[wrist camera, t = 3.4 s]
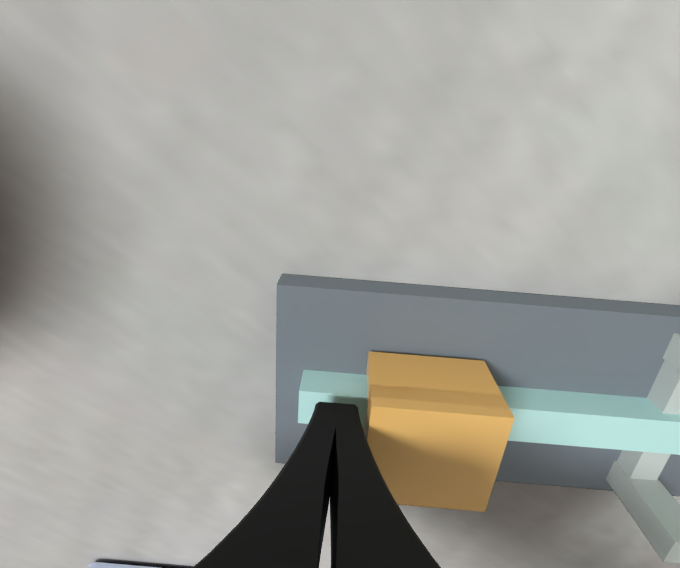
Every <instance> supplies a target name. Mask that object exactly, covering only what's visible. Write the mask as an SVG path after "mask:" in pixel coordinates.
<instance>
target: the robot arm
mask: <svg viewBox="0 0 680 568" xmlns="http://www.w3.org/2000/svg"><path fill="white" fill-rule="evenodd" d="M329 498H330V520H331V568H441V567H440V566H439V565H438V564H437V562H436V561H435V560H434V558H433V557H432V556H431V554H430V553H429V551H428V550H427V549H426V547H425V546H424V544H423V543H422V542H421V540H420V539H419V537H418V536H417V535H416V533H415V532H414V530H413V529H412V527H411V526H410V524H409V523H408V521H407V519H406V518H405V516H404V515H403V513H402V511H401V510H400V508H399V506H398V505H397V503H396V501H395V500H394V498H393V496H392V494H391V492H390V490H389V489H388V487H387V485H386V483H385V481H384V479H383V477H382V475H381V473H380V471H379V468H378V466H377V464H376V462H375V459H374V457H373V455H372V452H371V450H370V447H369V445H368V442H367V439H366V437H365V434H364V431H363V428H362V424H361V421H360V417H359V412H358V407H357V406H356V405H355V404H344V403H331V402H318V403H317V404H316V405H315V409H314V412H313V414H312V417H311V419H310V421H309V424H308V426H307V428H306V430H305V432H304V434H303V435H302V437H301V439H300V441H299V443H298V444H297V446H296V448H295V450H294V451H293V453H292V455H291V456H290V458H289V459H288V461H287V462H286V464H285V465H284V467H283V468H282V470H281V472H280V473H279V474H278V476H277V477H276V479H275V480H274V481H273V483H272V484H271V485H270V487H269V488H268V489H267V491H266V492H265V493H264V495H263V496H262V497H261V498H260V500H259V501H258V502H257V503H256V504H255V505H254V507H253V508H252V509H251V510H250V511H249V512H248V514H247V515H246V516H245V517H244V518H243V519H242V520H241V522H240V523H239V524H238V525H237V526H236V527H235V528H234V529H233V530H232V531H231V532H230V533H229V534H228V535H227V536H226V537H225V538H224V539H223V540H222V541H221V542H220V543H219V544H218V545H217V546H216V547H215V548H214V549H213V550H212V551H211V552H210V553H209V554H208V555H207V556H206V557H204V558H203V559H202V560H201V561H200V562H199V563H198V564H196V565H195V566H194V567H193V568H319V561H320V554H321V548H322V541H323V535H324V529H325V523H326V517H327V511H328V504H329ZM88 568H160V567H148V566H137V565H125V564H113V563H102V562H93V563H91V564H90V565H89V566H88Z"/></svg>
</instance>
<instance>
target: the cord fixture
mask: <svg viewBox="0 0 680 568" xmlns="http://www.w3.org/2000/svg"><path fill="white" fill-rule="evenodd" d="M369 351H371V352H383V353H395V354H407V355H420V356H432V357H444V358H456V359H469V360H481V361H485V363H486V365H487V367H488V369H489V371H490V372H491V374H492V376H493V378H494V380H495V382H496V384H497V386H498V388H499V389H500V391H501V393H502V395H503V397H504V399H505V401H506V403H507V405H508V406H509V408H510V410H511V412H512V414H513V416H514V418H515V419H514V422H513V425H512V428H511V431H510V435H509V438H508V441H507V444H506V447H505V451H504V454H503V457H502V460H501V463H500V466H499V470H498V473H497V476H496V479H495V481H504V482H516V483H528V484H540V485H552V486H564V487H575V488H587V489H599V490H611V491H614V492H615V493H616V495H617V496H618V498H619V499H620V500H621V502H622V503H623V505H624V506H625V508H626V509H627V511H628V512H629V513H630V515H631V516H632V518H633V519H634V521H635V522H636V524H637V525H638V526H639V528H640V529H641V531H642V532H643V534H644V535H645V537H646V538H647V539H648V541H649V542H650V544H651V545H652V547H653V548H654V550H655V551H656V552H657V554H658V555H659V557H660V558H661V560H662V561H663V562H669V563H680V505H679V504H678V502H677V501H676V500H675V499H674V498H673V496H680V306H679V305H666V304H654V303H641V302H629V301H617V300H604V299H592V298H579V297H567V296H554V295H542V294H529V293H517V292H504V291H492V290H479V289H467V288H454V287H442V286H429V285H417V284H404V283H392V282H379V281H367V280H354V279H342V278H330V277H317V276H305V275H292V274H282V275H281V277H280V279H279V281H278V283H277V332H276V462H277V463H286V462H287V461H288V459H289V458H290V456H291V455H292V453H293V451H294V450H295V448H296V446H297V444H298V443H299V441H300V439H301V437H302V435H303V434H304V432H305V430H306V428H307V426H308V424H309V421H310V419H311V417H312V414H313V412H314V409H315V405H316V404H317V403H318V402H331V403H344V404H355V405H356V406H357V407H358V412H359V417H360V421H361V424H362V428H363V429H365V423H366V415H367V407H368V398H367V373H366V370H367V361H368V353H369Z"/></svg>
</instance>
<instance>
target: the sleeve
mask: <svg viewBox="0 0 680 568" xmlns="http://www.w3.org/2000/svg"><path fill="white" fill-rule="evenodd" d="M366 373H367V398H368V407H367V415H366V423H365V429H363V431H364V434H365V437H366V439H367V442H368V445H369V447H370V450H371V452H372V455H373V457H374V459H375V462H376V464H377V466H378V468H379V471H380V473H381V475H382V477H383V479H384V481H385V483H386V485H387V487H388V489H389V490H390V492H391V494H392V496H393V498H394V500H395V501H396V503H397V505H409V506H421V507H433V508H445V509H456V510H468V511H480V512H485V511H486V508H487V504H488V501H489V498H490V495H491V492H492V489H493V485H494V482H495V479H496V476H497V473H498V470H499V466H500V463H501V460H502V457H503V454H504V451H505V447H506V444H507V441H508V438H509V435H510V431H511V428H512V425H513V422H514V419H515V418H514V416H513V414H512V412H511V410H510V408H509V406H508V405H507V403H506V401H505V399H504V397H503V395H502V393H501V391H500V389H499V388H498V386H497V384H496V382H495V380H494V378H493V376H492V374H491V372H490V371H489V369H488V367H487V365H486V363H485V361H481V360H469V359H456V358H444V357H432V356H420V355H407V354H395V353H383V352H371V351H369V353H368V361H367V370H366Z"/></svg>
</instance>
